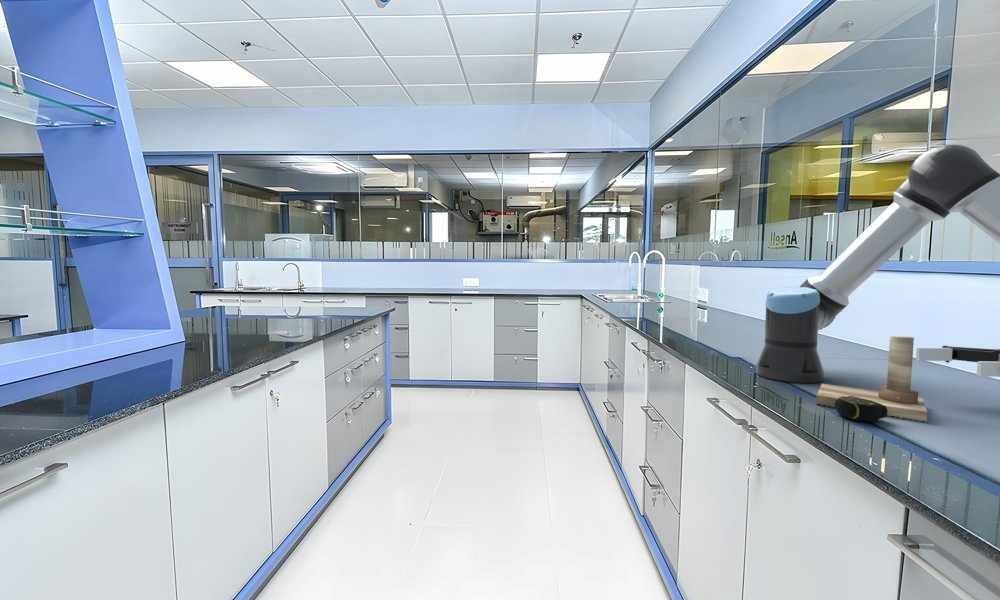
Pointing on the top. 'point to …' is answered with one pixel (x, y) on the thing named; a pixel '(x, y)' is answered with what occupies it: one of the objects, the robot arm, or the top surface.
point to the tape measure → (860, 408)
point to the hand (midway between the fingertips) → (945, 360)
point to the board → (910, 411)
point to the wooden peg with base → (899, 372)
